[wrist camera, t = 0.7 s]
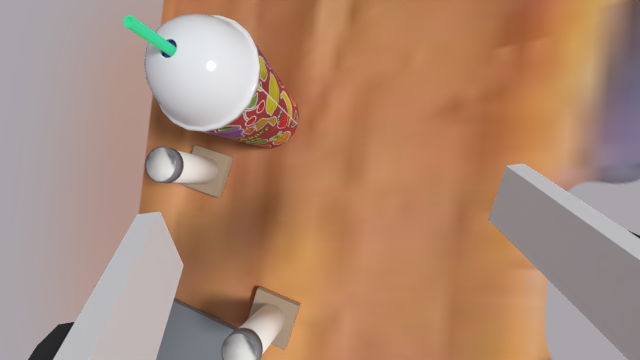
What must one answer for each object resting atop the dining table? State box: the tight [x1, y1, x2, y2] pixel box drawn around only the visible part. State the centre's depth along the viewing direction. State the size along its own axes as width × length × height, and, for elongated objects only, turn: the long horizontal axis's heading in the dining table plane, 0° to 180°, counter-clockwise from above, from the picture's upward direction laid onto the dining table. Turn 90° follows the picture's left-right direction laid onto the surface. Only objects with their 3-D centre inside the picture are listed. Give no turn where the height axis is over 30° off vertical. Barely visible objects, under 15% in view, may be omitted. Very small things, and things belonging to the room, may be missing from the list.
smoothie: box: [123, 14, 299, 148], centre depth 24 cm, size 8×8×20 cm
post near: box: [221, 286, 301, 360], centre depth 29 cm, size 5×5×8 cm
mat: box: [156, 299, 238, 360], centre depth 34 cm, size 10×10×1 cm
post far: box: [145, 145, 234, 198], centre depth 32 cm, size 5×5×8 cm
